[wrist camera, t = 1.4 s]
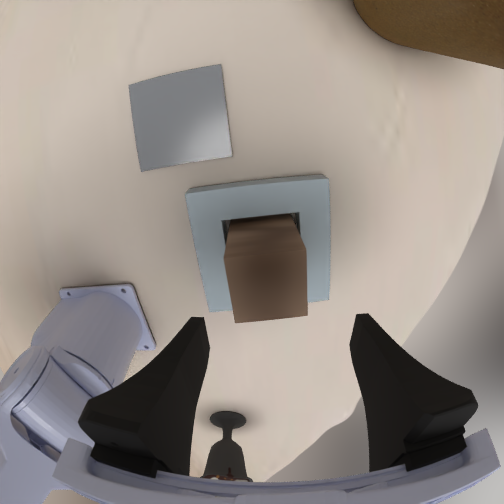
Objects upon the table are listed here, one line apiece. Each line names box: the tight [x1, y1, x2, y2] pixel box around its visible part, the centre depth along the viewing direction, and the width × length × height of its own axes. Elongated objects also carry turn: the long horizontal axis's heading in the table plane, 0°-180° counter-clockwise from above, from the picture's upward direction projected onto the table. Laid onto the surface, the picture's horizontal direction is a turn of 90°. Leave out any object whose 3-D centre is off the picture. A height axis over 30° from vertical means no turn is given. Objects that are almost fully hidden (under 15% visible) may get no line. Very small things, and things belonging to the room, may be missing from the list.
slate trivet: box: [129, 64, 233, 172], centre depth 18 cm, size 7×7×1 cm
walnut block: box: [223, 213, 308, 323], centre depth 19 cm, size 4×4×7 cm
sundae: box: [200, 411, 253, 497], centre depth 26 cm, size 7×7×15 cm
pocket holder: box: [185, 174, 330, 312], centre depth 21 cm, size 10×10×2 cm
